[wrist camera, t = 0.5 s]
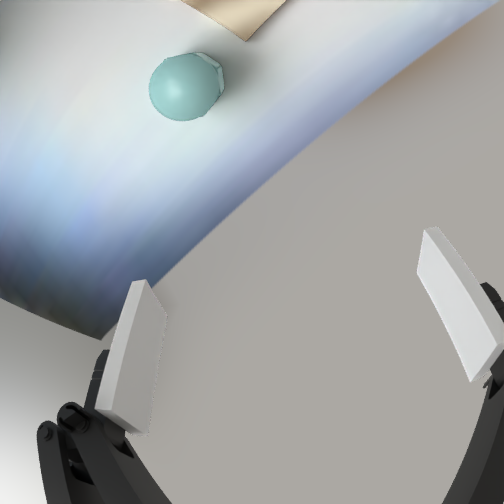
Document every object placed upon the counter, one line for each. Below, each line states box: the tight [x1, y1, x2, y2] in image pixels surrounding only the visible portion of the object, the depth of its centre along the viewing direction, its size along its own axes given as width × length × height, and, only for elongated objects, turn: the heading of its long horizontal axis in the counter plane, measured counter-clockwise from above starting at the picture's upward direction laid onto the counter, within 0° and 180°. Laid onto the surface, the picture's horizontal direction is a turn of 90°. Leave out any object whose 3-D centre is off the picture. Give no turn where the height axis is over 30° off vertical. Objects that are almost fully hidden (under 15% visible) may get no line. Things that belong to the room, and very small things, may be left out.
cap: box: [149, 52, 224, 121], centre depth 25 cm, size 6×6×6 cm
